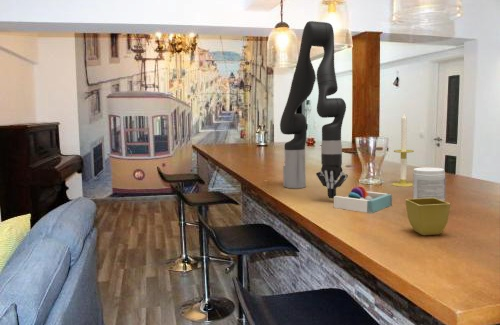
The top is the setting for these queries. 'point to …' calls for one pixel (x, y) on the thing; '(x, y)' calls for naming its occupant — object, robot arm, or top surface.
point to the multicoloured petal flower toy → (359, 194)
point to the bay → (364, 202)
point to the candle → (403, 156)
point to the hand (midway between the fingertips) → (331, 197)
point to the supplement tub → (429, 183)
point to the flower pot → (427, 215)
